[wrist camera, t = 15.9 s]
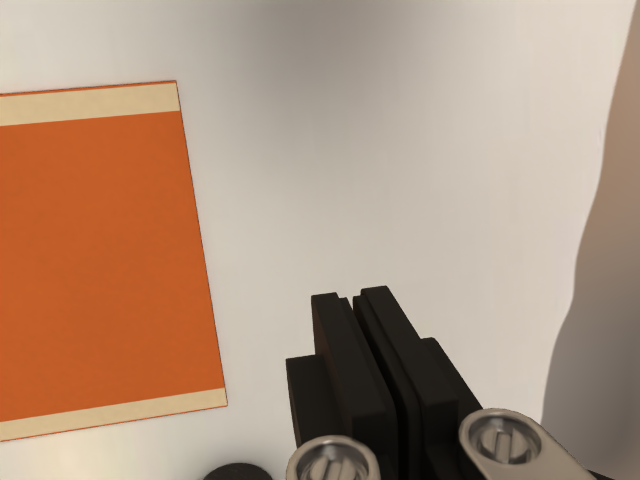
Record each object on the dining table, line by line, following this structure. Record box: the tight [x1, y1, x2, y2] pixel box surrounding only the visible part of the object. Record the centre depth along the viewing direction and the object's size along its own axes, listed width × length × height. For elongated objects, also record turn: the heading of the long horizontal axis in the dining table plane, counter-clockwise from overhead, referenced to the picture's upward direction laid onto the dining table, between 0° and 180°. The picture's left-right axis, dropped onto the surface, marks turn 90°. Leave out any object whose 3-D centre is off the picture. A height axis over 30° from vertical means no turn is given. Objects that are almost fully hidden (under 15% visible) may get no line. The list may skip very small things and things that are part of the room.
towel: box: [0, 81, 228, 442], centre depth 38 cm, size 26×20×1 cm
